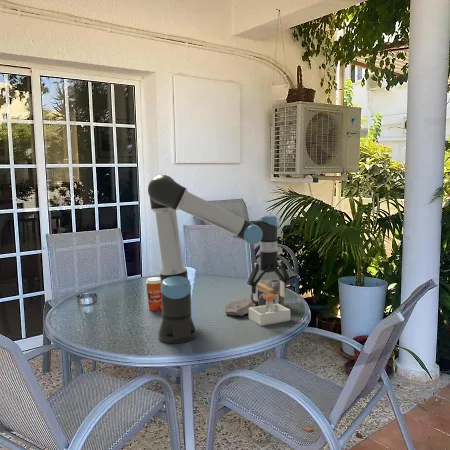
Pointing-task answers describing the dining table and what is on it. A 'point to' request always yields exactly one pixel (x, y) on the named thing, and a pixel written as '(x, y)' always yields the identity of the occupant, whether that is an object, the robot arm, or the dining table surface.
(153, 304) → the coffee cup
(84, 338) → the dining table surface
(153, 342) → the dining table surface
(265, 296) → the pin
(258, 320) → the tray
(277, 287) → the trolley
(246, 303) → the stone
